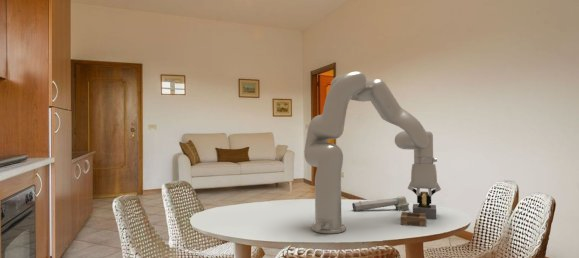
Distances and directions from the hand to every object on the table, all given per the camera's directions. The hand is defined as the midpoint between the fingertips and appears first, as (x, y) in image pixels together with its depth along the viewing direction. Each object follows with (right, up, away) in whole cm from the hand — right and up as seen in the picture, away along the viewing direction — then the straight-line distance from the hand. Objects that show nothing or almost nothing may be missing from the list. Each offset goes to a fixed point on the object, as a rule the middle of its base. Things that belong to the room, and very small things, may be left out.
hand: (424, 204), depth 153 cm
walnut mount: (-8, -5, -11) cm, 14 cm away
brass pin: (0, -4, 0) cm, 4 cm away
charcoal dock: (0, -5, 0) cm, 5 cm away
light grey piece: (-15, -5, +12) cm, 20 cm away
